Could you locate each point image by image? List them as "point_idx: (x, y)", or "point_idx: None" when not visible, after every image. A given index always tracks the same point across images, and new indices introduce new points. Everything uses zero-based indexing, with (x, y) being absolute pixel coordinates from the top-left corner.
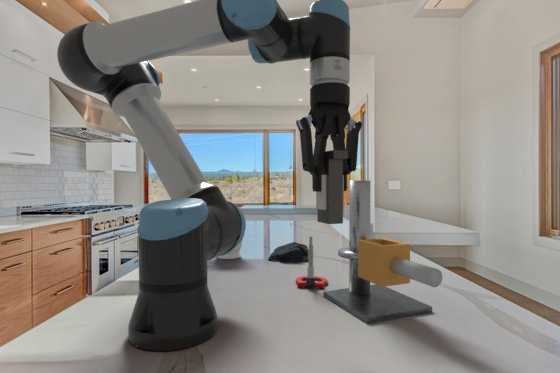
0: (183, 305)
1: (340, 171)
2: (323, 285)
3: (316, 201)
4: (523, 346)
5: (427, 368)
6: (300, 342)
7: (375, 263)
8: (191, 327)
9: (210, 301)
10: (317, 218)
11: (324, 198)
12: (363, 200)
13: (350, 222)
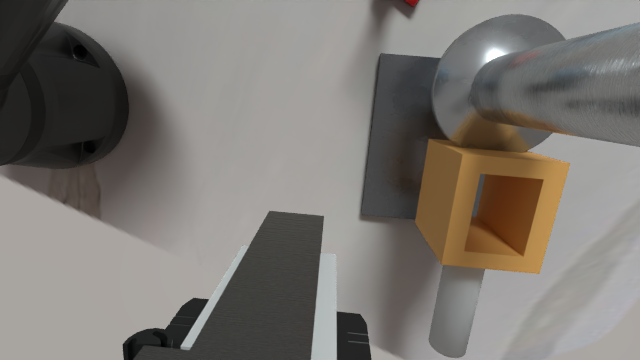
0: (22, 164)
1: None
2: (413, 5)
3: (233, 262)
4: (489, 349)
5: None
6: (233, 216)
7: (430, 219)
8: (64, 166)
9: (79, 131)
10: (267, 214)
11: None
12: (628, 144)
13: (524, 79)
